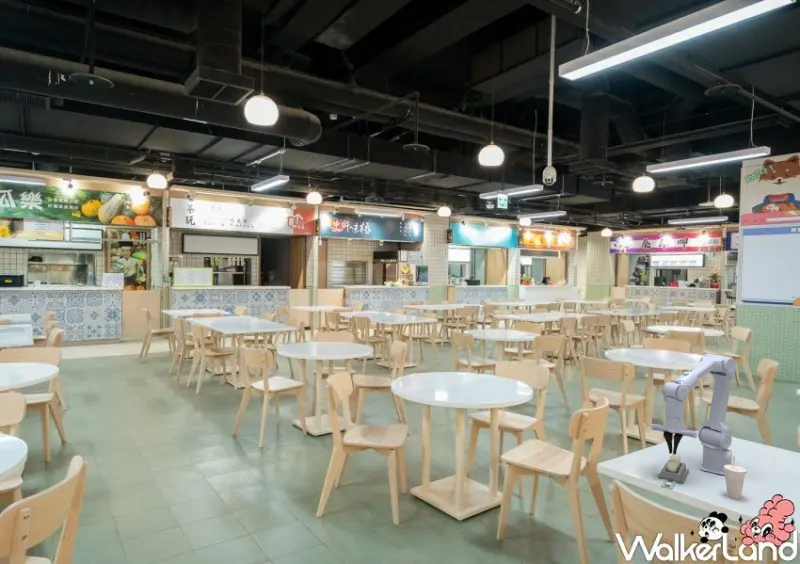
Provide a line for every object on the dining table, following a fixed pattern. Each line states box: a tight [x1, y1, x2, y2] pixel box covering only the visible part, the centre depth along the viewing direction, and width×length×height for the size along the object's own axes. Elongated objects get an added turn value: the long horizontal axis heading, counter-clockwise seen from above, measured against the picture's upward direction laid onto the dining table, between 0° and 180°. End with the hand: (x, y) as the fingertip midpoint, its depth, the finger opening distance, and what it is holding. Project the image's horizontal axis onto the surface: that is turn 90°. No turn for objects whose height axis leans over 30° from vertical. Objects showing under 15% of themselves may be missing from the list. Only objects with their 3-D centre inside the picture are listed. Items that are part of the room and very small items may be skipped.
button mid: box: [669, 455, 679, 470], centre depth 185 cm, size 3×3×4 cm
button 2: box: [671, 452, 682, 466], centre depth 189 cm, size 3×3×4 cm
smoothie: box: [724, 454, 747, 500], centre depth 168 cm, size 6×6×14 cm
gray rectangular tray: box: [657, 461, 690, 485], centre depth 185 cm, size 8×14×3 cm, turn 143°
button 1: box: [667, 459, 677, 473], centre depth 182 cm, size 3×3×4 cm
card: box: [660, 479, 677, 490], centre depth 177 cm, size 4×8×1 cm, turn 143°
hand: (672, 453), depth 182 cm, fingers closed
